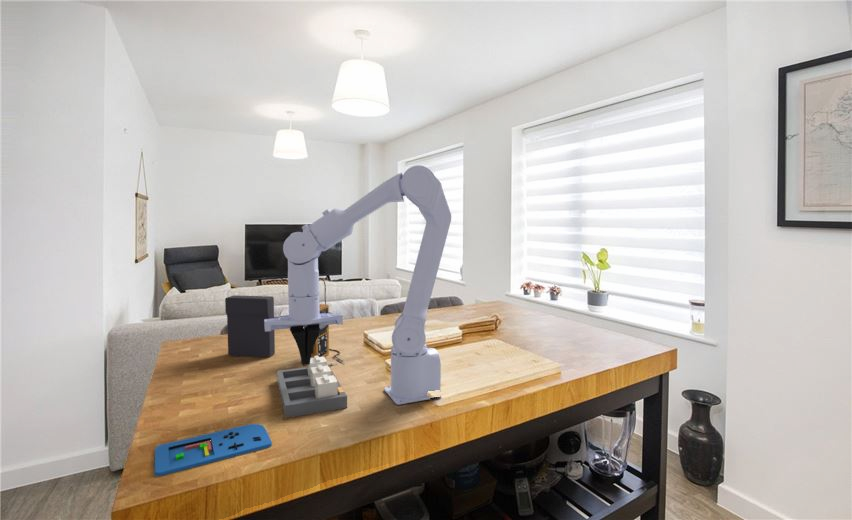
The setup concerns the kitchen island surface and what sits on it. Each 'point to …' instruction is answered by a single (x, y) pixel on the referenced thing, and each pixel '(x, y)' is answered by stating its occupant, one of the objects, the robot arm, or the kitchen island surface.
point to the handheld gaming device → (210, 448)
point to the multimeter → (323, 336)
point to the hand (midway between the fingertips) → (305, 363)
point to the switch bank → (305, 394)
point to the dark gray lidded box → (249, 326)
